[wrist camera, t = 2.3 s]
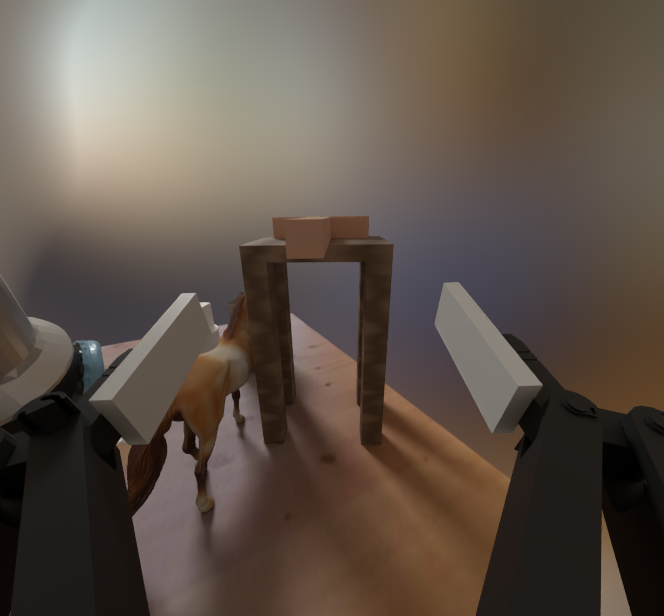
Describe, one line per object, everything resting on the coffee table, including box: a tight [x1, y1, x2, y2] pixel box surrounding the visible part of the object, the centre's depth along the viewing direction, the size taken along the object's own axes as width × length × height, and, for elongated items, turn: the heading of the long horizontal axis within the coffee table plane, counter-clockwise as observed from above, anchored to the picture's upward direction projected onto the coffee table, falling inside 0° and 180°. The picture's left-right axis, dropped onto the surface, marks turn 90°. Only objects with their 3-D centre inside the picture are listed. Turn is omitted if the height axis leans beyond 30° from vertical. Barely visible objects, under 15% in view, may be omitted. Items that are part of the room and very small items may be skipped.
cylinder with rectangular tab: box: [199, 302, 220, 355], centre depth 67 cm, size 9×9×12 cm
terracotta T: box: [273, 216, 369, 259], centre depth 31 cm, size 14×22×3 cm, turn 178°
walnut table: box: [239, 236, 393, 444], centre depth 41 cm, size 18×12×30 cm, turn 88°
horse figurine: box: [127, 292, 255, 516], centre depth 37 cm, size 31×8×21 cm, turn 168°
